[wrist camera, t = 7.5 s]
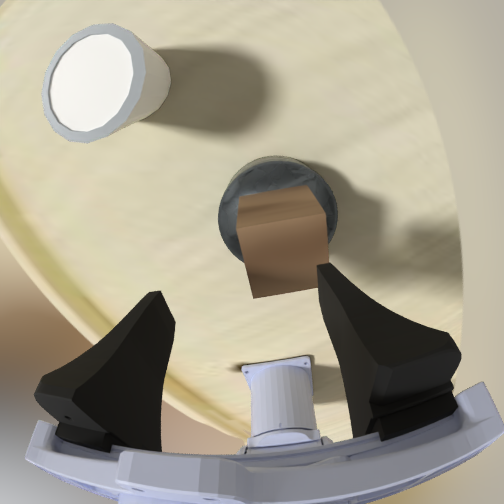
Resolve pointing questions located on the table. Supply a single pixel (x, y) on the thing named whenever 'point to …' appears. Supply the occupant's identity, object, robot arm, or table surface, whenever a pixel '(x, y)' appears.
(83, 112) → the grey and white cylinder
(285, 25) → the table surface
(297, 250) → the walnut block
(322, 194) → the tin
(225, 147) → the table surface
